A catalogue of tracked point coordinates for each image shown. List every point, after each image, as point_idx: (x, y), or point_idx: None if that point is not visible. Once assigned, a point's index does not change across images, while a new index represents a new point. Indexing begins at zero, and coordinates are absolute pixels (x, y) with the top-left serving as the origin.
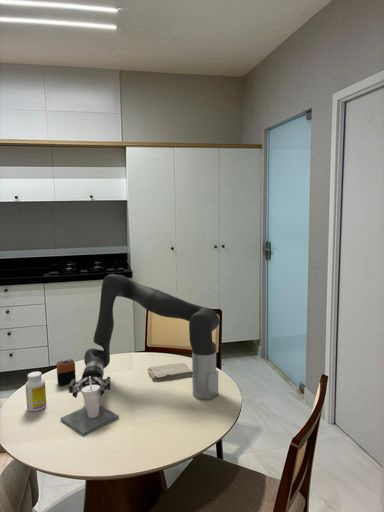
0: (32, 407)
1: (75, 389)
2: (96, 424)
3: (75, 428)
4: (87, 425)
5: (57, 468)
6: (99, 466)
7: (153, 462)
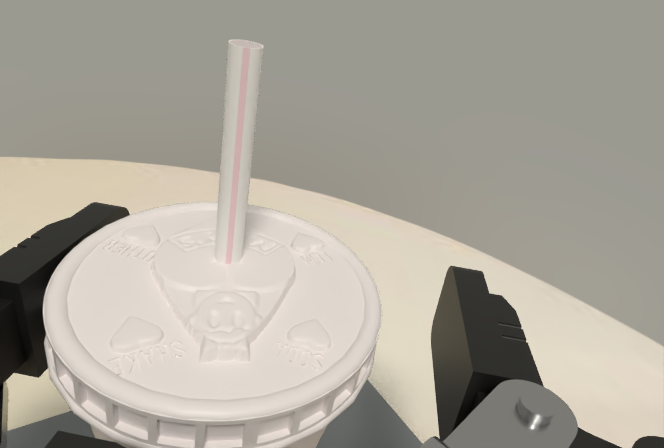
0: None
1: (484, 311)
2: None
3: (380, 400)
4: None
5: (415, 231)
6: (274, 201)
7: (102, 167)
